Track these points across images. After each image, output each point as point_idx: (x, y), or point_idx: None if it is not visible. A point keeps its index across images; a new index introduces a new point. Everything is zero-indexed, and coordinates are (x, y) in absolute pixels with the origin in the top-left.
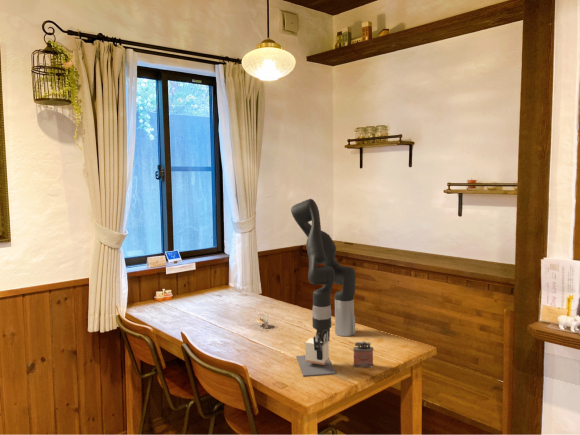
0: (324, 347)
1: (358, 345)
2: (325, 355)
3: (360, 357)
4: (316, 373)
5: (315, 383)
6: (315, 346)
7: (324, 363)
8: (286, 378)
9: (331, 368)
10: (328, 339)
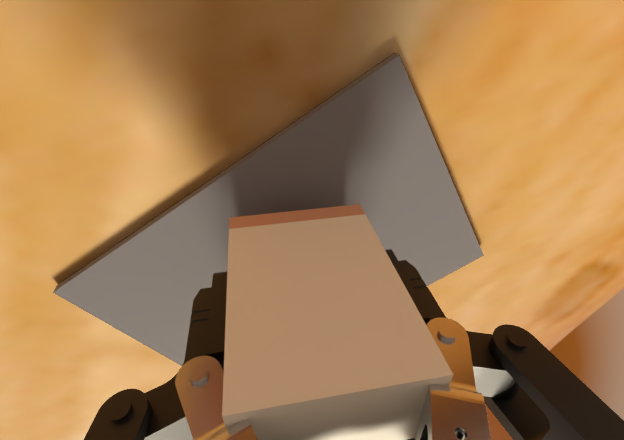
0: (422, 341)
1: None
2: (345, 256)
3: None
4: (444, 201)
5: (574, 146)
6: (534, 415)
7: (358, 210)
8: (508, 302)
9: (322, 135)
10: (136, 432)
